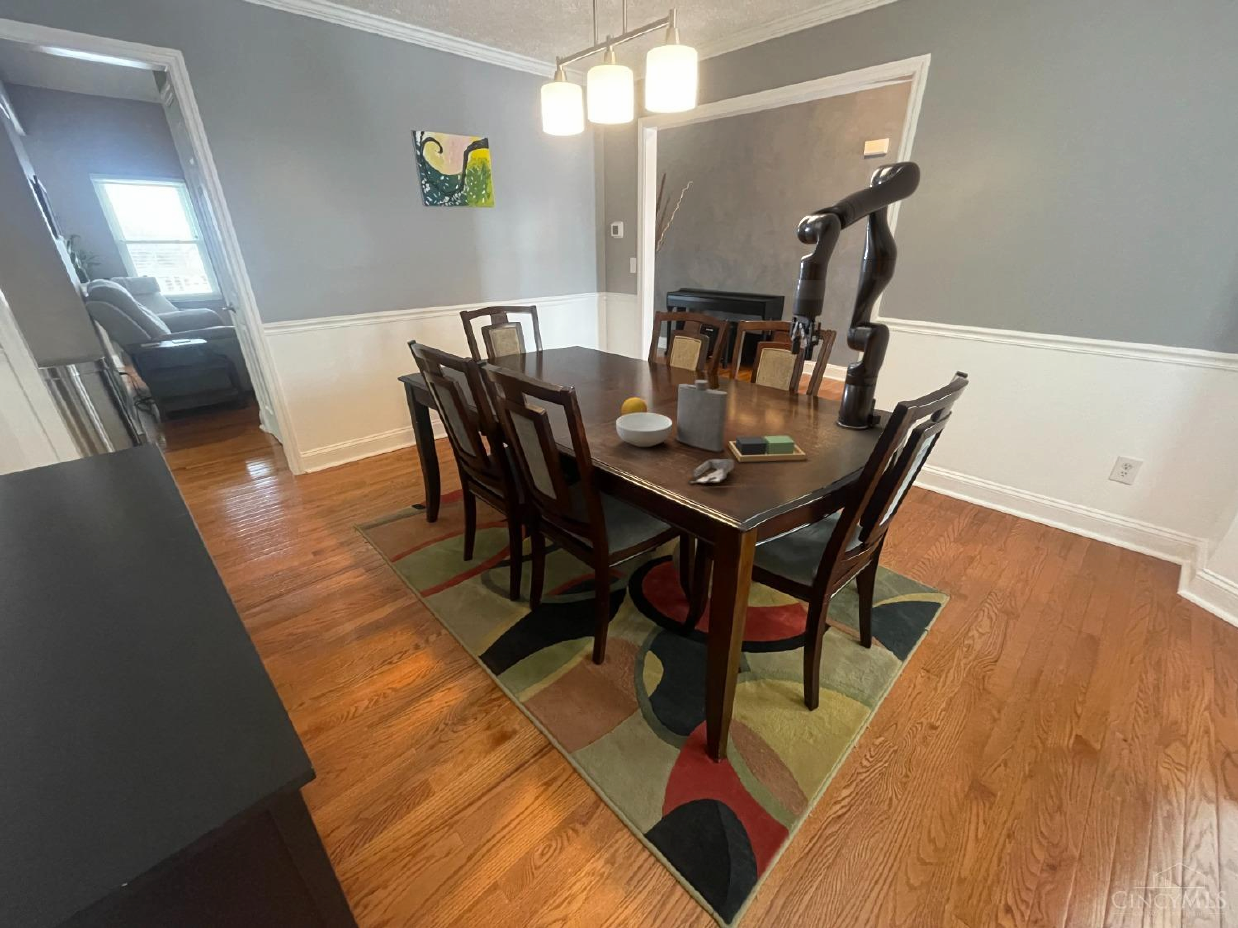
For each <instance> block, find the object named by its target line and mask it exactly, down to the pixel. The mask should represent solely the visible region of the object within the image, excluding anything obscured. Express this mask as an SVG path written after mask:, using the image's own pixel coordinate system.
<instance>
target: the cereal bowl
mask: <svg viewBox="0 0 1238 928" xmlns="http://www.w3.org/2000/svg"><path fill="white" fill-rule="evenodd" d="M615 428H616V429H615V430H616V433H617V435H618V436H619V438H620V439H621V440H622V441H623V442H626V443H627V444H631V445H632V446H635V447H637V448H638V447H639V448H651V447H654V446H656V445H658V444H662V443H663V442H664V441H666V440H668V438H669V437H670V435H671V433H672V429H673V421H672V419H671V418H670V417H668V416H666V415H664V414H660V413H654V412H647V413H632V414H627V415H624V416H623V415H621V416H620V417H618V418H617V419H616V421H615Z"/></svg>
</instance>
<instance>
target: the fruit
mask: <svg viewBox="0 0 1238 928" xmlns="http://www.w3.org/2000/svg"><path fill="white" fill-rule="evenodd" d="M632 413H648V406H647V403H646V401H644V400H643V399H642V398H640V397H630V398H628V399H626V400H625V401H624V403H623V404H622V406H621V416H624V415H627V414H632Z"/></svg>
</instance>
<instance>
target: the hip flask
mask: <svg viewBox="0 0 1238 928" xmlns="http://www.w3.org/2000/svg"><path fill="white" fill-rule="evenodd" d="M708 384H709V383H708V380H706V379H695V381H694V384H688V383H680V384H678V390H677V391H678V394H677V414H676V415H677V416H676V437H675V438H676V441H677V442H678V441H679V442H681V443H683V444H687V445H689V446H691V447H692V446H693V447H695V448H696V447H697V448H700V449H703V450H708V451H713V452H722V451H723V450H724V449H723V448H724V438H725V425H726V414H727V413H726V412H727V401H728V392H727V391H722V390H716V389H709V388H708V387H707V386H708Z"/></svg>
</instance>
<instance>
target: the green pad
mask: <svg viewBox="0 0 1238 928" xmlns="http://www.w3.org/2000/svg"><path fill="white" fill-rule="evenodd" d="M763 440H764V441H765V442H766V443H767V444H766V453H767V454H768V455H771V454H793V452H794V445H796V442H795V441H794V440H793V439H792V438H791V436H789V435H765V436H763Z"/></svg>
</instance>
